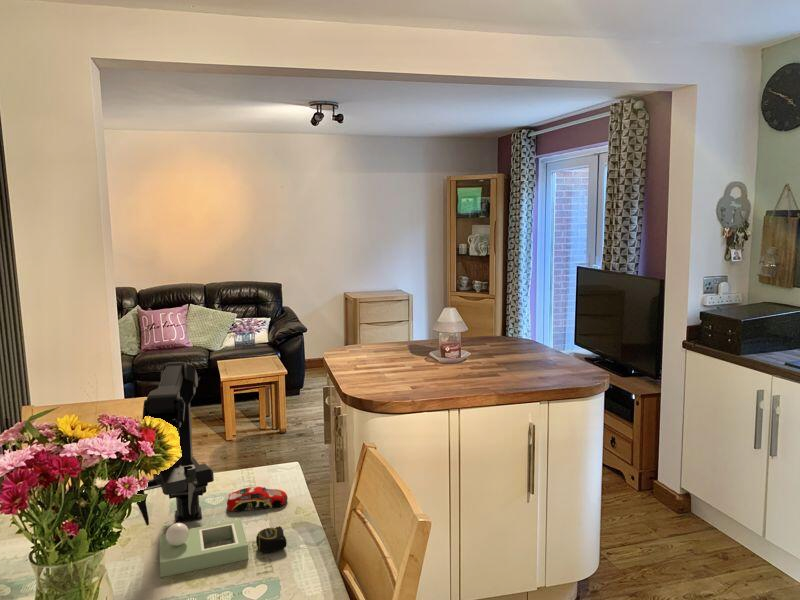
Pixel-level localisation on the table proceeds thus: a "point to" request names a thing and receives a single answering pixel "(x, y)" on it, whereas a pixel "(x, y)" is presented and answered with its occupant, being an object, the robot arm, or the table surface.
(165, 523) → the table surface
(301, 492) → the table surface
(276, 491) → the race car
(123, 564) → the table surface
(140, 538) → the table surface
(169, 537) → the ball
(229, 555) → the green
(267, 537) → the tape measure
